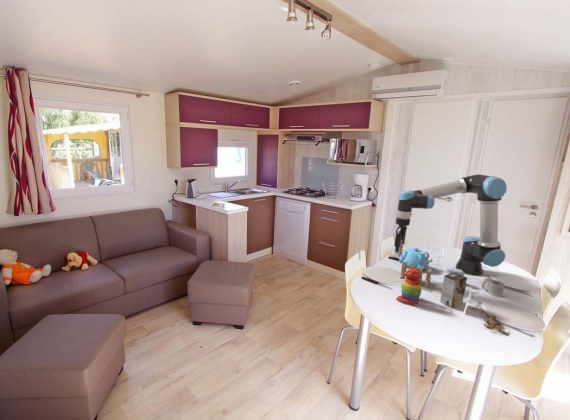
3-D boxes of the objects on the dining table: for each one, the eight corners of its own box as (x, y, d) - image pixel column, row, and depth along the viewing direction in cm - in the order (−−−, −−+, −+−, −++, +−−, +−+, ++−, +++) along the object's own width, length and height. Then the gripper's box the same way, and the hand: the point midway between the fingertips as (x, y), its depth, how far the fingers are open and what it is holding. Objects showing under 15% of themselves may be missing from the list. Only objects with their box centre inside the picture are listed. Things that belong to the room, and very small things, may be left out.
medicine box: (458, 282, 180) (460, 269, 178) (461, 286, 175) (464, 272, 173) (444, 281, 180) (446, 268, 178) (447, 284, 176) (450, 271, 174)
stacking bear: (403, 293, 163) (408, 263, 159) (422, 301, 156) (428, 269, 152) (394, 300, 156) (399, 268, 152) (414, 308, 149) (419, 275, 145)
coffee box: (450, 300, 158) (455, 272, 155) (462, 306, 153) (468, 277, 149) (439, 303, 154) (444, 275, 150) (450, 310, 149) (456, 280, 145)
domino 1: (395, 257, 177) (397, 241, 174) (397, 255, 180) (399, 239, 178) (397, 258, 176) (400, 242, 173) (400, 255, 180) (402, 240, 177)
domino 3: (412, 280, 177) (415, 264, 175) (410, 283, 173) (413, 267, 171) (410, 279, 178) (412, 263, 176) (407, 282, 174) (410, 266, 172)
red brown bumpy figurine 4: (405, 278, 180) (407, 262, 178) (402, 280, 176) (405, 265, 174) (402, 277, 181) (404, 261, 179) (399, 280, 177) (402, 264, 175)
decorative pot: (431, 269, 198) (434, 249, 195) (418, 274, 188) (421, 254, 185) (408, 260, 210) (411, 242, 207) (395, 265, 201) (398, 246, 198)
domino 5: (429, 285, 172) (432, 269, 170) (427, 288, 168) (430, 271, 166) (426, 284, 173) (429, 268, 171) (424, 287, 169) (427, 271, 167)
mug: (503, 293, 168) (505, 283, 167) (501, 297, 164) (503, 286, 162) (482, 287, 175) (484, 277, 174) (479, 291, 170) (482, 280, 169)
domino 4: (421, 282, 175) (423, 266, 172) (418, 285, 171) (421, 269, 169) (418, 281, 176) (420, 266, 173) (416, 284, 172) (418, 268, 169)
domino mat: (436, 286, 173) (436, 284, 173) (431, 294, 164) (432, 292, 164) (391, 273, 188) (391, 271, 188) (384, 279, 179) (385, 278, 179)
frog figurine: (476, 317, 144) (477, 310, 143) (505, 324, 140) (507, 317, 139) (480, 330, 134) (482, 323, 133) (512, 338, 129) (514, 330, 128)
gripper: (405, 221, 163) (399, 261, 169) (414, 216, 178) (408, 253, 183) (391, 219, 168) (386, 258, 173) (401, 214, 182) (396, 250, 187)
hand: (397, 255), depth 178 cm, fingers closed on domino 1, 5 cm apart
